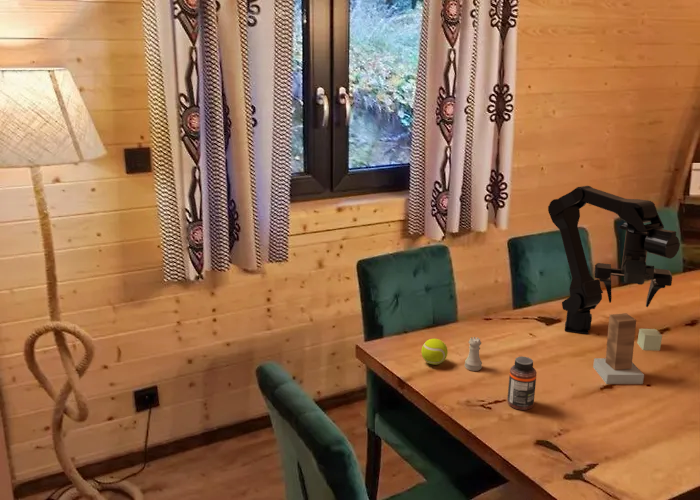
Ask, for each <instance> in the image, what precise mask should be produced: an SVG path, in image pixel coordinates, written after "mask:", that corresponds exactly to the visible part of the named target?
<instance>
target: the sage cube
mask: <svg viewBox="0 0 700 500" xmlns="http://www.w3.org/2000/svg"><path fill="white" fill-rule="evenodd" d="M662 339H663V335H662V333H661V332H659V330H658V329H656V328H638V337H637V342H636V343H637V345H638V346H639V348H640V349H641V350H642V351H654V352H655V351H656V352H657V351H661V345H662Z"/></svg>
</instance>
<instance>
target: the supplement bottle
mask: <svg viewBox="0 0 700 500" xmlns="http://www.w3.org/2000/svg"><path fill="white" fill-rule="evenodd" d="M536 383H537V370H536V369H535V368H534V360H533V359H532V358H530V357H528V356H522V355H521V356H517V357H516V358H515V360H514V365H512V366H511V367H510V369H509V378H508V388H507V389H508V390H507V403H508V406H510V407H511V408H513V409H517V410H519V411H526V410H529V409H532V408H533V407H534V405H535V394H536V385H537V384H536Z"/></svg>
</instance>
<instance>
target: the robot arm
mask: <svg viewBox="0 0 700 500" xmlns="http://www.w3.org/2000/svg"><path fill="white" fill-rule="evenodd" d="M587 204H588V205H590V206H594V207H597V208H599V209H603V210H606V211H609V212H612V213H614V214H615V215H617V216H618V218H620V219H621V220H623V221H624V222H623V223H622V224H621V225H619V226H618V229H619V230H623V231H625V239H624V247H623V255H622V262H621V268H614V267H612V264H610V263H605V262H603V263H601V262H597V263H596V264H595V265H594V277H592V276H591V274H590V271H589V266H588V263H587V258H586V255H585V254H586V253H585V250H584V248H583V247H584V246H583V243H582V239H581V235H580V231H579V227H578V226H579V225H578V224H579V222H580V217H581V212H580V211H581V210H580V209H581V208H583V207H584V206H585V205H587ZM547 211H548V213H549V216H550V220H551V222H552V223H553V224H554V225H555V226H556V228H557V229H558V230H559V232H560V237H561V239H562V240H561V241H562V243H563V247H564V251H565V256H566V259H567V263H568V268H569V271H570V276H571V280H570V281H571V282H570V285H569V296H568V298H565V300H562V302H561V305H562V307H561V308H562V310H564V311H566V319H565V322H564V331H565V332H569V333H575V334H585V335H589V331H591V327H592V319H593V318H592V317H593V316H592V313H591V311H592V310H595V309H596V307H597V305H599V304H601V301H602V300H603V293H604V292H603V290H602V287H601V282H602V283H603V284H604V287H605V289H606V293H607V297H608V302H609V304H610V303H612V276H616V277H623V281H624V283H626V284H637V285H639V286H640V285H641V286H642V285H644V284H645V281H650V284H649V287H648V292H647V296H646V301H645V307H646V308H648V307H649V305H650V304H651V302H652V300H653V298H655V295H656V294H657V292H658V291H659V290H660V289H665V288H666V287H670V286H672V282H673V275H672V272H671V271H670V270H669V269H663V268H655V266H654V265H649V264H648V265H647V256H648V254H651V255H654V256H660V257H661V258H665V259H673V258H674V257H676V255H677V254H678V252H679V250H680V245H681V243H680V240H679V237H677V231H675V230H668V229H664V228H665V226H664V224H663V222H662V220H661V217H660V215H659V213H658V211H657V207H656V204H655V202H653V201H651V200H648V199H638V198H625V197H622V196H619V195H616V194H612V193H610V192H606V191H604V190H601V189H597V188H594V187H593V186H590V185H581V186H577V187H576V188H573V190H571V191H570V192H567V193H566V194H564V195H563V196H560V197H558V198H555V199H554V198H553V199H552V200H551V201H550V202H549V205H548V206H547ZM646 223H647V224H646Z"/></svg>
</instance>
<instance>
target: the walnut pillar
mask: <svg viewBox="0 0 700 500" xmlns="http://www.w3.org/2000/svg"><path fill="white" fill-rule="evenodd" d="M636 325H637V320H636V318H634V317H633V316H631V315H630V314H628V313H626V312H623V313H611V314H609V317H608V327H607V341H606V351H605V352H606V353H605V358H606V363H607V364H608V365H609V366H610V367H611V368H613V369H614V370H621V369H631V368H632V362H633V358H634V357H633V356H634V347H635V337H636V336H635V335H636Z"/></svg>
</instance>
